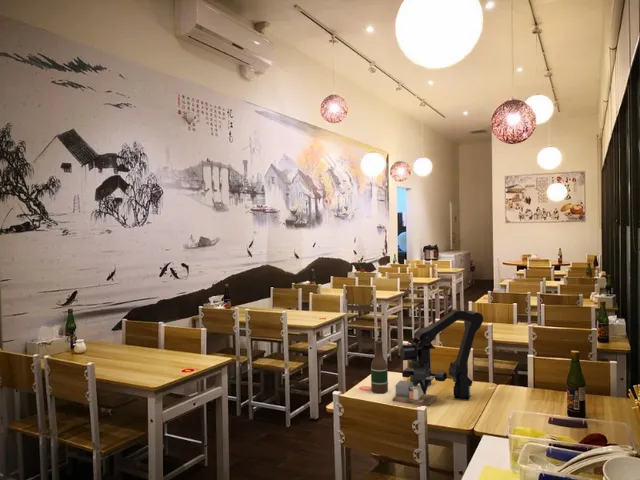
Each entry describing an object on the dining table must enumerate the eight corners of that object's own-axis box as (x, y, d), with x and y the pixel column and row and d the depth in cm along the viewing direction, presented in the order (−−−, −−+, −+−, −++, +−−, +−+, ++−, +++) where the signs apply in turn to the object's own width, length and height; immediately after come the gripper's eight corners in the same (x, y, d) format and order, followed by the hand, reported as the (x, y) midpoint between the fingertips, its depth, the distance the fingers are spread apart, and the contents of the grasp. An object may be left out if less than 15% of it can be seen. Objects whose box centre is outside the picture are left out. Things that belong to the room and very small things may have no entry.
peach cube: (415, 397, 222) (414, 391, 222) (413, 399, 220) (413, 392, 220) (410, 397, 223) (410, 390, 223) (409, 398, 221) (409, 392, 221)
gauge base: (437, 397, 226) (437, 395, 226) (430, 406, 215) (430, 403, 215) (401, 392, 234) (401, 390, 234) (392, 400, 223) (392, 398, 223)
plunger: (424, 393, 228) (423, 383, 228) (417, 400, 219) (417, 389, 219) (404, 390, 232) (404, 381, 232) (398, 397, 223) (398, 387, 223)
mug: (418, 388, 240) (417, 363, 239) (401, 380, 253) (400, 356, 253) (436, 385, 244) (436, 360, 244) (419, 377, 257) (418, 354, 257)
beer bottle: (387, 394, 232) (386, 342, 232) (370, 393, 234) (369, 342, 233) (388, 389, 240) (387, 339, 239) (372, 388, 241) (371, 338, 241)
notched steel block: (413, 393, 230) (412, 382, 230) (408, 397, 224) (408, 386, 224) (400, 391, 233) (400, 380, 233) (395, 395, 227) (395, 384, 227)
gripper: (398, 361, 219) (398, 396, 219) (440, 365, 211) (441, 402, 211) (405, 355, 229) (406, 389, 229) (446, 359, 221) (447, 394, 221)
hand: (424, 393), depth 222 cm, fingers closed
